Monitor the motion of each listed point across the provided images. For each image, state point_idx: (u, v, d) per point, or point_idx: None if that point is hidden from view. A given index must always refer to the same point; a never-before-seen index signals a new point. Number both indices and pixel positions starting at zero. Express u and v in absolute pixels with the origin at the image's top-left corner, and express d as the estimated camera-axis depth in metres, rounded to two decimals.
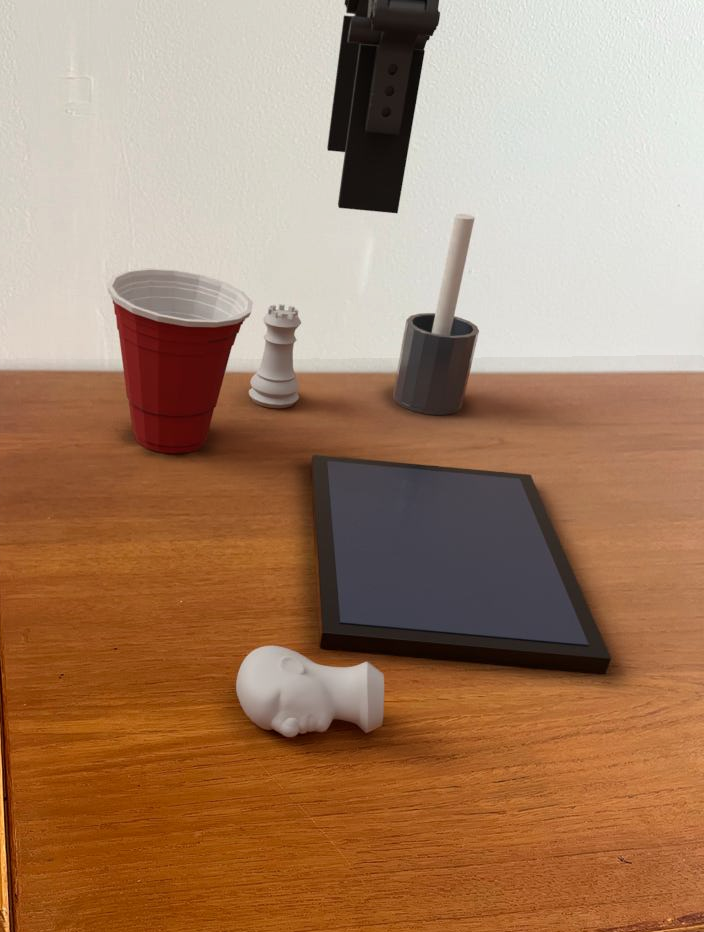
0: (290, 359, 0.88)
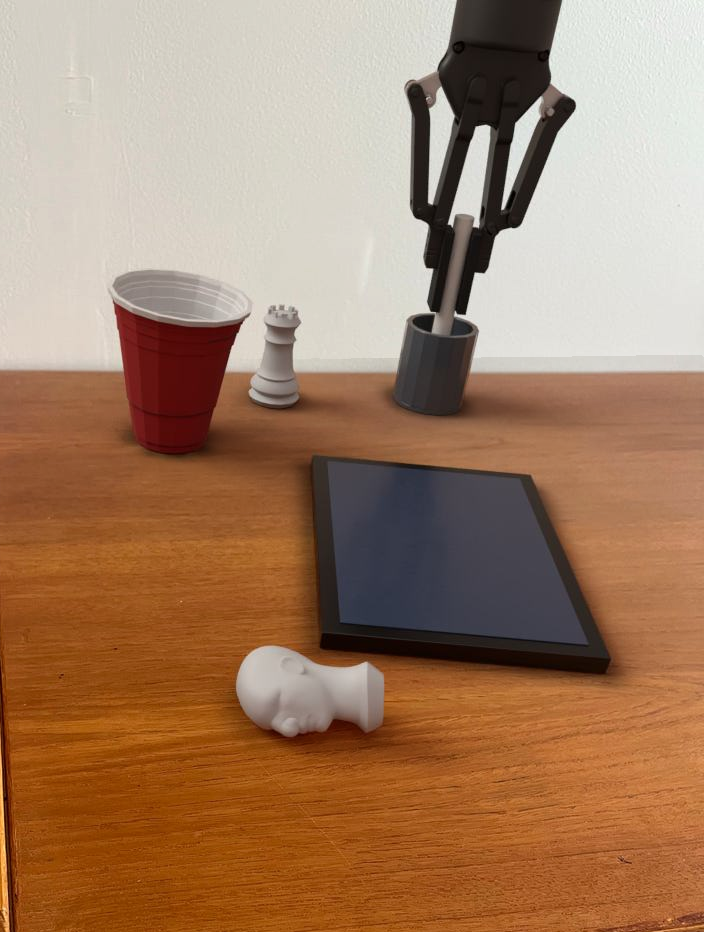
0: (290, 359, 0.88)
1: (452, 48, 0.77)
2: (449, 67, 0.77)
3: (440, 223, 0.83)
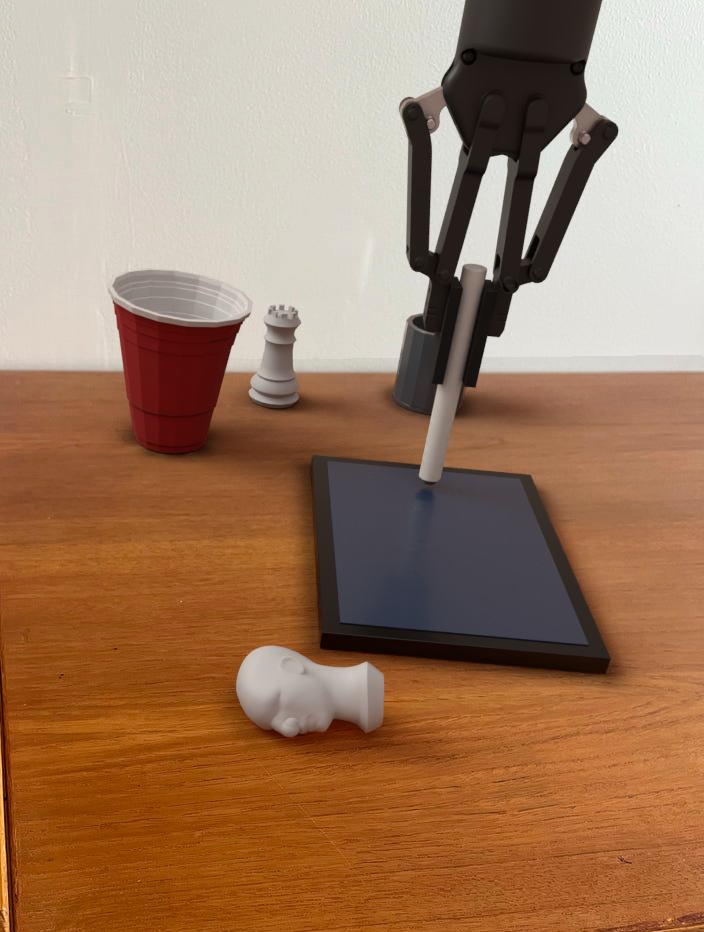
0: (290, 359, 0.88)
1: (460, 57, 0.60)
2: (456, 82, 0.60)
3: (444, 276, 0.66)
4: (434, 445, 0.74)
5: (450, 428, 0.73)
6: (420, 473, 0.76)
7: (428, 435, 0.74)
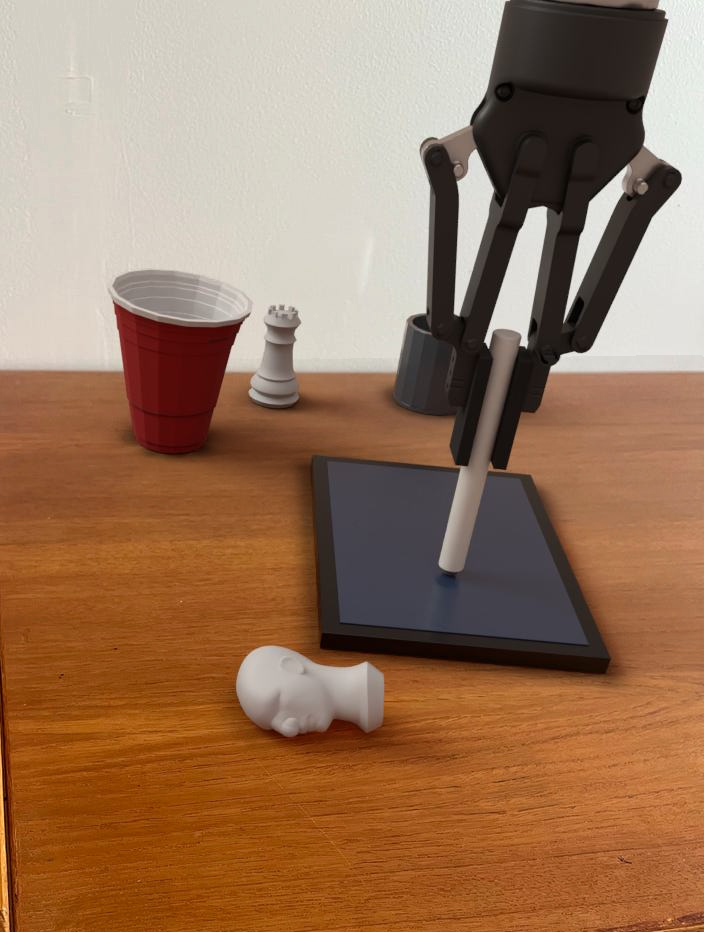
0: (290, 359, 0.88)
1: (494, 92, 0.50)
2: (489, 121, 0.50)
3: (471, 345, 0.57)
4: (457, 532, 0.64)
5: (475, 513, 0.63)
6: (440, 562, 0.66)
7: (450, 520, 0.64)
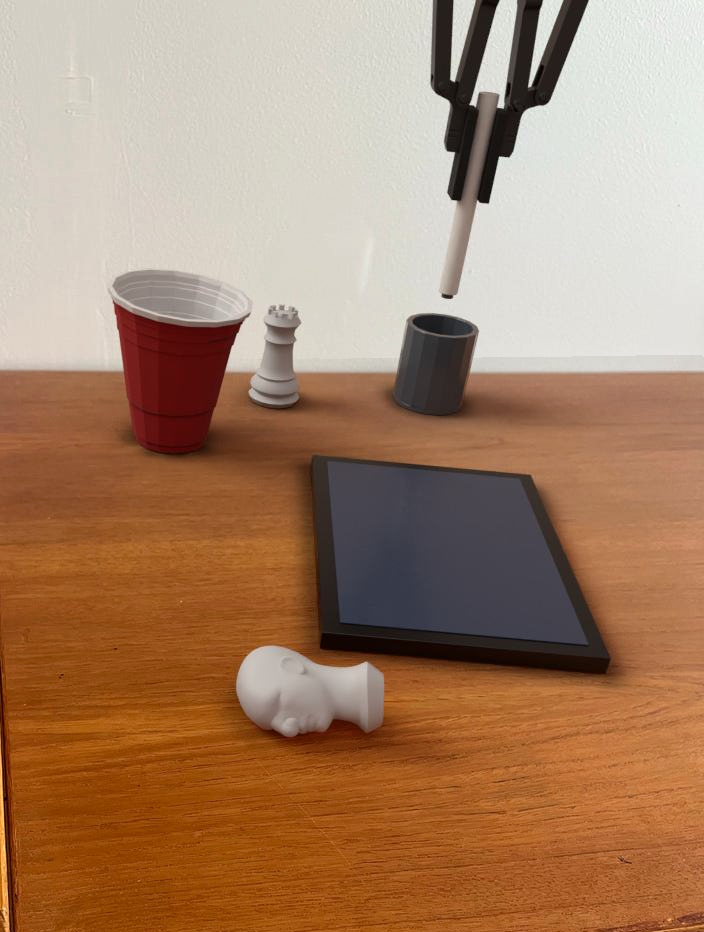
0: (290, 359, 0.88)
1: None
2: None
3: (463, 100, 0.78)
4: (452, 260, 0.86)
5: (466, 244, 0.85)
6: (440, 288, 0.87)
7: (447, 251, 0.86)
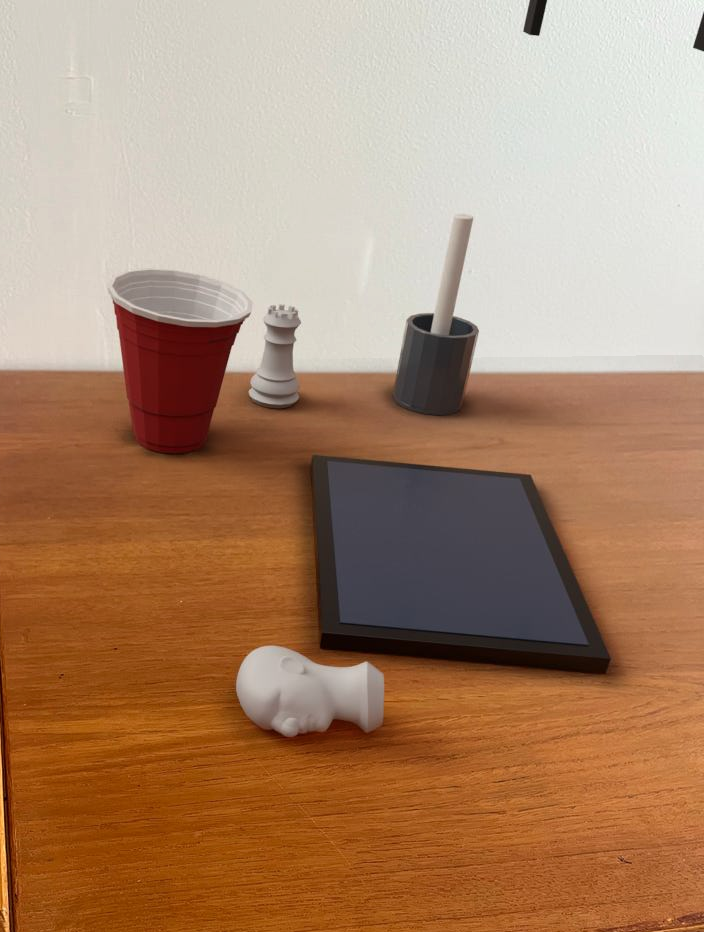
0: (290, 359, 0.88)
1: None
2: None
3: None
4: None
5: None
6: None
7: None
